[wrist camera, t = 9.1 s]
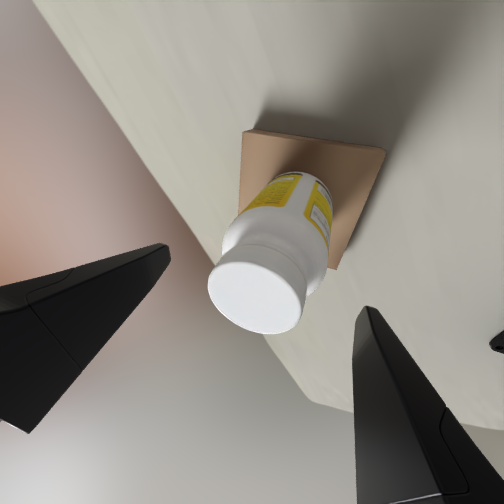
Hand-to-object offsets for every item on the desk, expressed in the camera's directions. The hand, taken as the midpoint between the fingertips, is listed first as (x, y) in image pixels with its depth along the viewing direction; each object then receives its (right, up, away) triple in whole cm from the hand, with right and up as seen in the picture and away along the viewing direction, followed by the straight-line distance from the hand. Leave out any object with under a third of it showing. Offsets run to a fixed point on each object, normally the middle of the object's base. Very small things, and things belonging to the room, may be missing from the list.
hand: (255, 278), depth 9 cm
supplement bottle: (+3, +5, +7) cm, 9 cm away
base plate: (+4, +6, +8) cm, 11 cm away
